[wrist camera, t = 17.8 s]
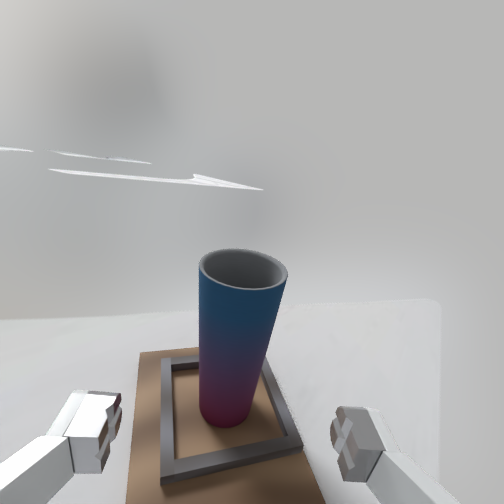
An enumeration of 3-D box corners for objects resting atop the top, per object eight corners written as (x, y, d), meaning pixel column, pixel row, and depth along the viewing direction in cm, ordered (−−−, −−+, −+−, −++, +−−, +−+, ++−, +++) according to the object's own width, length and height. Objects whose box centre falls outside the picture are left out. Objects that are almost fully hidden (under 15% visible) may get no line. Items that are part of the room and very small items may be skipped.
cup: (173, 409, 26) (178, 265, 20) (218, 365, 32) (232, 242, 26) (234, 455, 23) (260, 302, 17) (271, 397, 29) (301, 266, 23)
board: (340, 557, 19) (348, 541, 18) (114, 642, 15) (111, 626, 14) (255, 348, 37) (258, 335, 36) (140, 360, 32) (139, 345, 31)
